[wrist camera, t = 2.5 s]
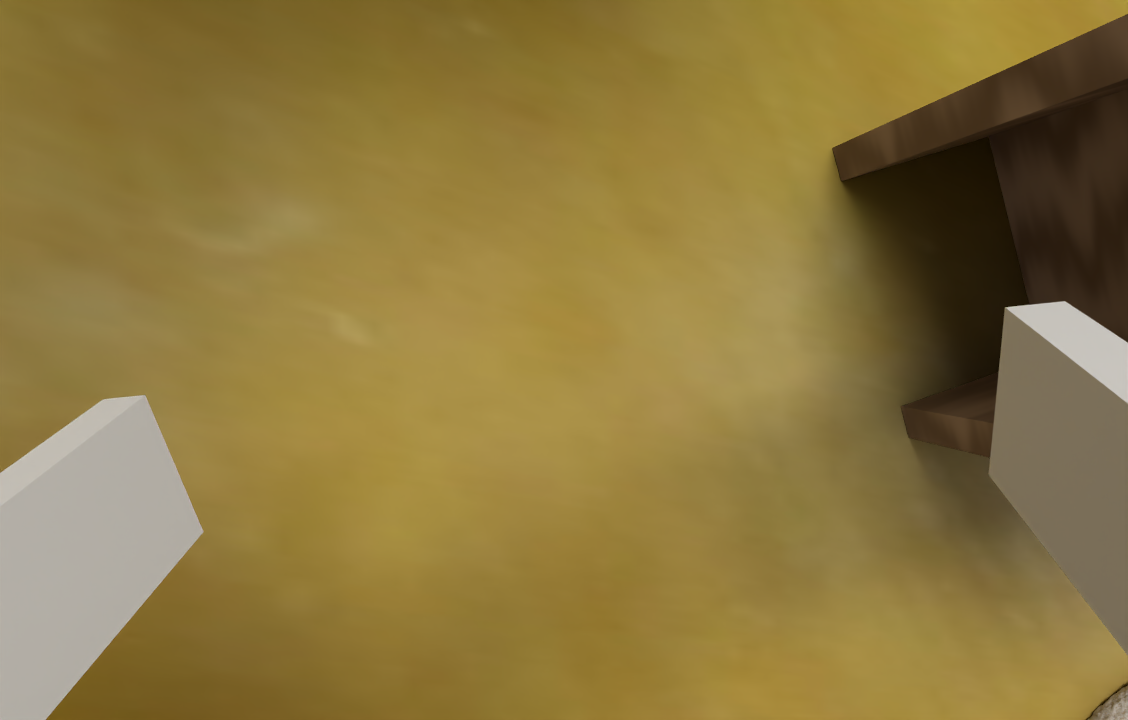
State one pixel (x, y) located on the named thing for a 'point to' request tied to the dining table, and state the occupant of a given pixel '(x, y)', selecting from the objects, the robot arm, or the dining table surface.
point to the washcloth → (1113, 707)
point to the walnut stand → (1032, 193)
